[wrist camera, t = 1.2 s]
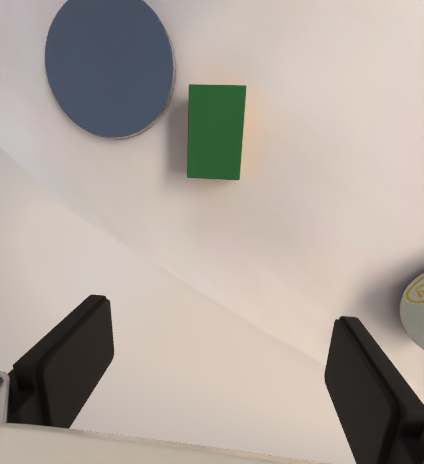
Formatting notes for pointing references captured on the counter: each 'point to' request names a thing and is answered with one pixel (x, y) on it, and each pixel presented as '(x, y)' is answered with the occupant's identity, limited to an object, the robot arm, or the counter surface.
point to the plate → (110, 65)
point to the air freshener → (414, 310)
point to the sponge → (215, 131)
